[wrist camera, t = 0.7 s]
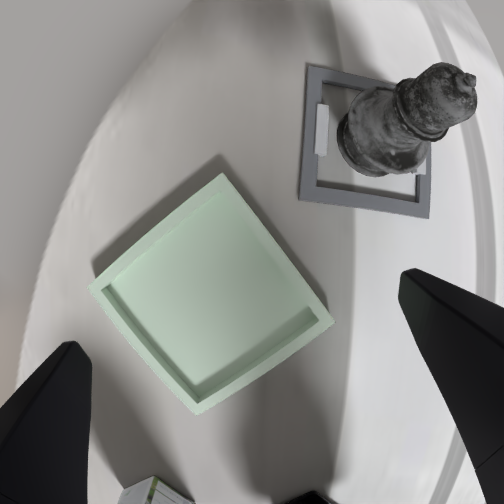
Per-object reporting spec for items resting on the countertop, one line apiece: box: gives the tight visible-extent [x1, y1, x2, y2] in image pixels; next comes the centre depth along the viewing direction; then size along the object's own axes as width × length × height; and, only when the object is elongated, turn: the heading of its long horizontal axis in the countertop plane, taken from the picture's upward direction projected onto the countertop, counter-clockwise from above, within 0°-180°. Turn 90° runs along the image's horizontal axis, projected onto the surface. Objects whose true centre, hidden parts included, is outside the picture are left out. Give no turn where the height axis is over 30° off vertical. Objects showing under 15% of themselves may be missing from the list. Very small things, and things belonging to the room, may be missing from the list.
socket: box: [299, 66, 431, 219], centre depth 20 cm, size 10×10×1 cm
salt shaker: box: [337, 62, 477, 177], centre depth 14 cm, size 6×6×12 cm
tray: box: [87, 172, 336, 416], centre depth 20 cm, size 12×12×2 cm
